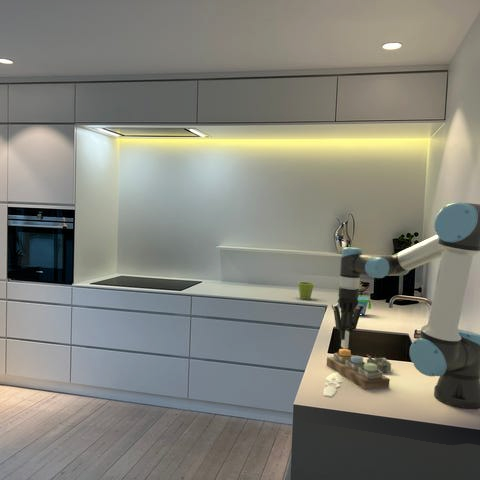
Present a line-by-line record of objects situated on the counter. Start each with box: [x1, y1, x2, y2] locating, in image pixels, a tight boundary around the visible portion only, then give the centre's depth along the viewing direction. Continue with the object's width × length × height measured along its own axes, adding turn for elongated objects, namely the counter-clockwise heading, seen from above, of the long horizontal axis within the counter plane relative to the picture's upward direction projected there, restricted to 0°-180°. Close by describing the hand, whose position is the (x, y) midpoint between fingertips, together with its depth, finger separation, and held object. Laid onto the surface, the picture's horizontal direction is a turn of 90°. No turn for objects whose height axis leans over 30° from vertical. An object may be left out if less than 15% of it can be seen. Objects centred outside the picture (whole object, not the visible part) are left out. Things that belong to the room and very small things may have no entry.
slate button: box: [351, 355, 364, 365], centre depth 172 cm, size 4×4×2 cm
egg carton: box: [366, 354, 392, 373], centre depth 182 cm, size 11×8×4 cm
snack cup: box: [354, 296, 372, 315], centre depth 282 cm, size 16×10×10 cm
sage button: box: [364, 362, 377, 373], centre depth 164 cm, size 4×4×2 cm
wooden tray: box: [326, 352, 390, 390], centre depth 172 cm, size 26×10×5 cm, turn 19°
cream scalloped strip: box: [322, 371, 344, 398], centre depth 164 cm, size 6×28×1 cm, turn 161°
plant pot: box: [297, 281, 315, 301], centre depth 326 cm, size 12×12×11 cm
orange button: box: [338, 348, 352, 358], centre depth 180 cm, size 4×4×2 cm
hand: (344, 347), depth 180 cm, fingers closed
